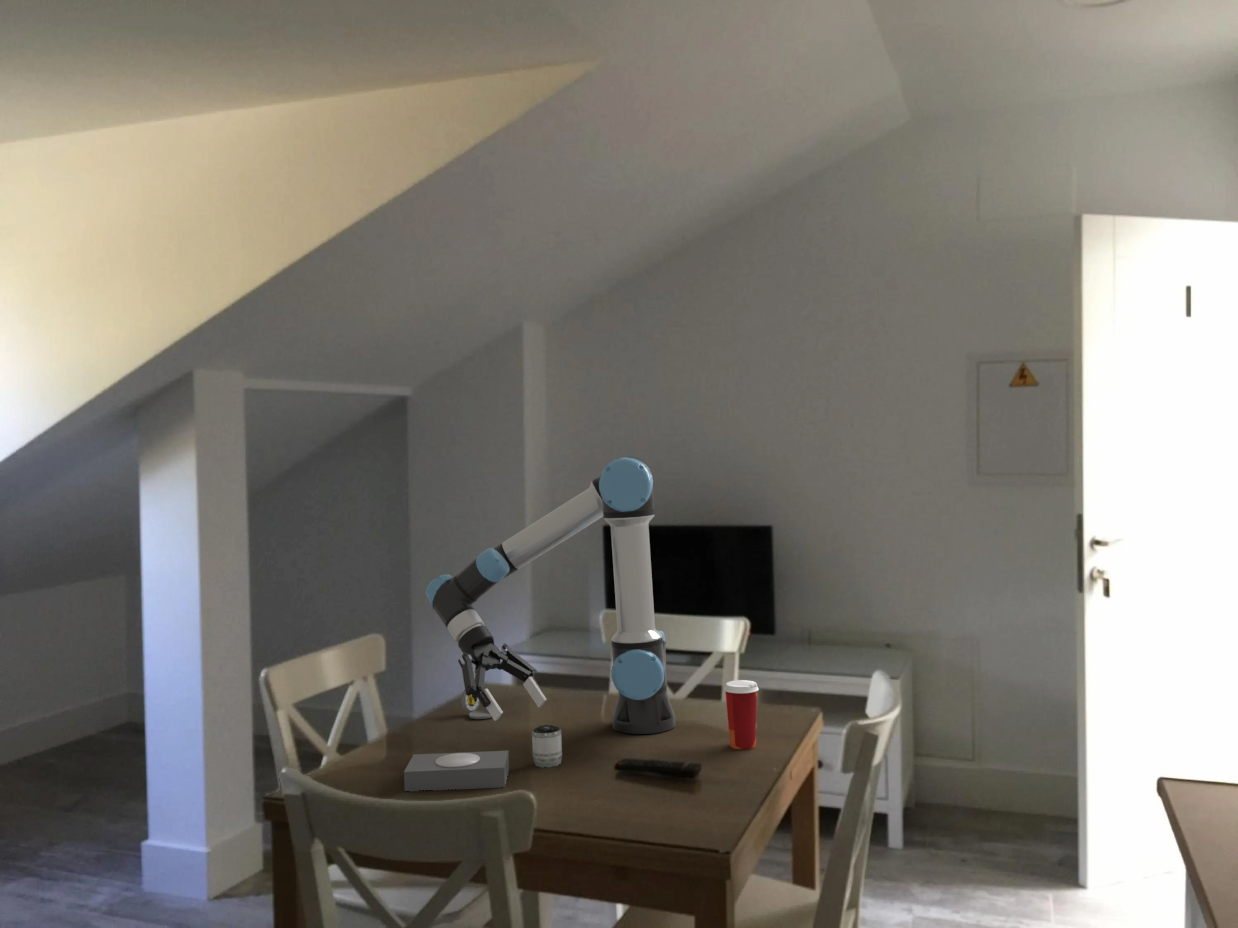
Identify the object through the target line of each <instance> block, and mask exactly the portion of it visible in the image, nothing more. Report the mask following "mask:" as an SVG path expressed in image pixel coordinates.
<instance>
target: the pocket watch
mask: <svg viewBox="0 0 1238 928" xmlns="http://www.w3.org/2000/svg"><path fill="white" fill-rule="evenodd" d="M460 699H461V700H460V701H461V702H460V704H461V707H462V709H463V710H464V711H465V712H467V713H468V717H469V718H470V719H472V720H473V719H474V720H487V719H491V718H492V716H491V715H490V713H489V711H488V710H487V709H483V710H482V709H480V710H477V709H478V708H479V706H480V704H481V702H480V701H479V699H478V698H476V699H474V698H472V695H470V696H468V695H466V692H465V689H464V690H463V692H462V694H461V698H460ZM469 704H470V705H469Z"/></svg>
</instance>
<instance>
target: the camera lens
mask: <svg viewBox="0 0 1238 928" xmlns="http://www.w3.org/2000/svg"><path fill="white" fill-rule="evenodd" d="M531 738H532V739H531V742H532V758H533V762H534V765H535V766H536V767H538V766H539V767H538V768H544V767H547V768H553V767H552V766H555V767H557V766H560V765H561V764H562V759H563V747H562V745H563V743H562V730H561V728H560V727H558V726H556V725H551V724H544V725H540V726H537V727H535V728H534V729H533V730H532V732H531ZM559 764H560V765H559Z"/></svg>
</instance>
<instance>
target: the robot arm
mask: <svg viewBox="0 0 1238 928" xmlns="http://www.w3.org/2000/svg"><path fill="white" fill-rule="evenodd" d="M654 484H655V478H654V474H653V471H652V469H651V467H650V466H649V465H648V464H647V463H646V462H645V461H644V460H642V459H640V458H637V457H635V456H623V457H619V458H615V459H614V460H612V461H609V463H607V465H606V466H605V467H604V468H603V470H602V472H601V474H600V475H599V476H598V477H596V478H594V479H592V480H591V482H590V485H589V487H588V488H587V489H585V490H583V491H582V492H581V493H579V494H577V495H575V496H574V497H572V498H571V499H569V500H567V501H566V502H565V503H562V505H559V506H558V507H556V508H555V509H553V510H551V511H550V512H549V513H547V514H545V515H544V516H542V517H541V518H539V519H538V520H536V521H534V522H532V524H530V525H528V526H526V527H525V528H523V529H522V530H521V531H518V532H517V533H515V534H514V535H512V536H511V537H509V538H507V539H506V540H505V541H503V542H502V543H500V544H498V545H496V546H495V547H489V548H486V549H485V550H484V551H482V552H481V553H480V554H478V555H477V556H476V557H475V558H474V559H473V560H471V562H470V563H468V564H467V565H466V566H465V567H464V568H463V569H462V570H461V571H460V572H459V573H457V574H456V575H455V576H452V575H451V574H441V575H439V576H438V577H437V578H434V579H433V580H431V582H430V583H428V585H427V587H426V588H425V596H426V598H427V599H428V601H429V603H430V605H431V608H432V609H433V610H434V612H435V613H436V614H437V616H438V617H439V619H440V620H441V622H442V623H443V625H444V626H445V628H446V630H447V631H448V632H449V634H450V635H451V637H452V638H453V639H454V641H455V643H456V644H457V646H458V648H459V649H460V651H461V652H462V655H461V656H460V657H459V659H458V660H457V662H458V664H459V665H460V668H461V672H462V679H463V685H464V690H465V692H466V695H468V696H470V695H472V698H474V699H476V698H478V699H479V701H480V704H481V706H482V707H483V708H486V710H488V711H489V713H490V715H491V716H492V717H491V718H492V719H493V721H495V722H496V721H498V720H499V719H500V718H501V716H502V715H503V714H504V711H503V710H502V708H501V706H500V705H499V704H498V702H497V701H496V699H495V698H494V696H493V694H492V693H491V692H490V690H489V689H488V688H484V687H485V677H486V672H487V671H490V670H495V669H496V670H499V671H500V670H501V671H505V672H506V673H508V674H509V675H511V676H513V677H515V678H517V679H519V680H520V681H522V682H523V687H524V689H525V690H526V692H527V693H528V694H529V695H530V697H531V698H532V700H533V701H534V703H535V704H536V706H537V707H538V708H541V707H542V706H543V705H544V704H545V702H546V701H547V700H548V699H547V697H546V696H545V694H544V693H543V691H541V687H540V685H539V684H538V682H537V680H536V679H535V675H536V674H537V673H538V670H537V669H536V668H535V667H534V666H533V665H531V664H530V663H529V662H528V661H527V660H525V659H523V658H522V657H521V656H520V655H519V654H517V653H516V652H515V651H513V650H512V648H511V647H510V646H509V645H508V643H505V642H504V643H503V644H502V646H500V647H498V646H497V645H496V644H495V642H494V641H495V639H494V636H493V634H492V633H491V631H490V630H489V628H488V627H487V626H485V623H484V621H483V620H482V618H481V616H480V615H479V614H478V613H477V611H476V609H475V608H474V607H473V604H474V603H475V602H477V601H478V600H479V599H480V598H481V597H482V596H484V595H485V594H486V593H488V592H489V591H490V590H491V589H492V588H493V587H494V586H496V585H497V584H498V583H500V582H501V581H503V580H505V579H506V578H507V577H509V576H511V575H512V574H513V573H515V572H517V571H518V570H519V569H521V568H523V567H524V566H526V565H528V564H529V563H531V562H533V561H534V560H536V559H537V558H539V557H540V556H542V555H544V554H545V553H547V552H548V551H550V550H552V549H553V548H555V547H557V546H558V545H560V544H561V543H563V542H565V541H566V540H568V539H570V538H571V537H573V536H574V535H576V534H577V533H579V532H580V531H582V530H584V529H586V528H587V527H589V526H590V525H592V524H593V523H595V522H596V521H598V520H600V519H601V518H603V520H604V521H605V522H606V523H608V524H609V527H610V537H611V551H612V553H611V554H612V555H611V556H612V565H613V581H614V582H613V583H614V595H615V596H614V597H615V599H614V600H615V614H616V615H615V616H616V628H617V629H616V632H615V633H614V634H613V636H612V637H611V639H610V641H611V655H612V656H611V657H612V666H611V670H610V675H611V676H610V677H611V681H612V683H613V685H614V687H615V689H616V690H617V692H618V695H617V699H616V703H615V706H614V710H613V713H612V717H611V727H612V729H613V730H614V731H617V732H620V733H624V734H631V735H632V734H633V735H634V734H635V735H648V734H649V735H650V734H658V733H665V732H667V731H670V730H672V729H673V728H676V715H675V712H674V709H673V707H672V704H671V700H670V698H669V696H668V687H667V684H668V683H667V681H668V680H667V659H666V658H667V655H666V652H667V651H666V644H667V641H666V635H665V632H664V631H662V630H659V629H658V630H657V628H656V621H655V619H656V618H655V608H654V607H655V606H654V605H655V603H654V594H653V593H654V592H653V590H654V589H653V588H654V587H653V577H652V576H653V575H652V561H651V543H650V529H649V528H650V527H649V525H650V524H649V523H650V522H651V521H652V519H653V518H654V517H655V516H656V515H655V502H654V501H655V500H654V499H655V498H654V486H655V485H654ZM473 665H474V666H475V668H473Z"/></svg>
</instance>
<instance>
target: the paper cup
mask: <svg viewBox="0 0 1238 928" xmlns="http://www.w3.org/2000/svg"><path fill="white" fill-rule="evenodd" d="M723 691H725V700H726V702H725V703H726V713H727V724H728V731H729V732H728V733H729V743H730V745H729V746H730V747H731V748H732V749H734V750H744V751H745V750H751V749H754V748H756V747H757V746H756V745H757V723H758V722H757V721H758V719H757V717H758V716H757V715H758V691H760V690H759V687H758V684H757V682H756V681H753V680H746V679H736V680H730V681H727V682H726V684H725V687H724V688H723Z"/></svg>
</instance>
